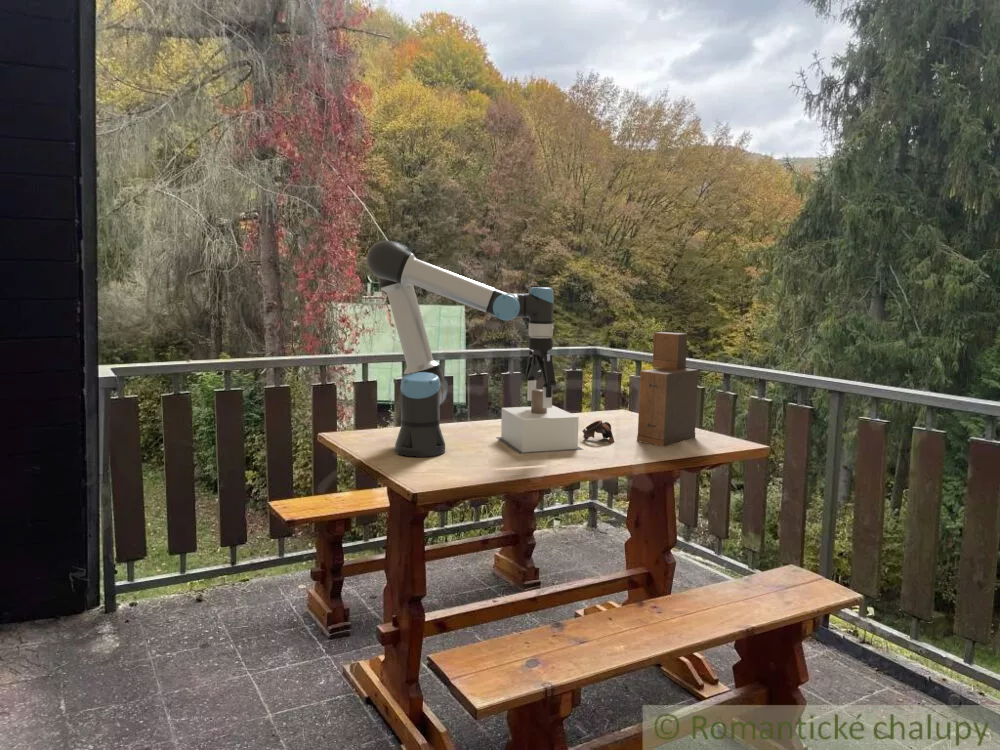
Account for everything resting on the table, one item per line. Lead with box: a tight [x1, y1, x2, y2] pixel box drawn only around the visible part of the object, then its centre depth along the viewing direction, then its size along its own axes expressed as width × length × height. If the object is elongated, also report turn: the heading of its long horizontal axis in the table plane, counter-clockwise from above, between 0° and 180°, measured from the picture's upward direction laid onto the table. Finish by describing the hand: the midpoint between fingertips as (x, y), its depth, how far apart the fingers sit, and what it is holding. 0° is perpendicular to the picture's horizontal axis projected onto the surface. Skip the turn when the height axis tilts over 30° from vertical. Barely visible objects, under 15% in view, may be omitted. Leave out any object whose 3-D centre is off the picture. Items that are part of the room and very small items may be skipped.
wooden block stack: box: [636, 331, 699, 447], centre depth 243 cm, size 19×14×35 cm
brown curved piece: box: [582, 420, 615, 444], centre depth 239 cm, size 12×10×8 cm
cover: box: [500, 388, 579, 452], centre depth 232 cm, size 18×20×17 cm
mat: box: [495, 436, 584, 455], centre depth 233 cm, size 21×23×1 cm
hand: (539, 404), depth 231 cm, fingers open, 13 cm apart
